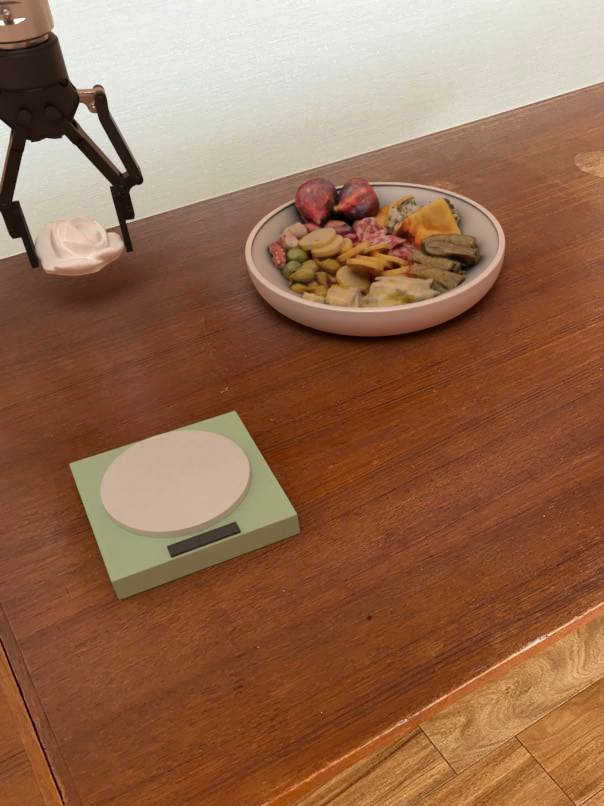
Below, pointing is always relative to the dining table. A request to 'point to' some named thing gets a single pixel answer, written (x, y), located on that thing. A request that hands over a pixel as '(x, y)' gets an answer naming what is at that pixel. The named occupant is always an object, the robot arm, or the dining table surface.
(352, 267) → the bowl
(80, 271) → the rose
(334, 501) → the dining table surface
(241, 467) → the scale
